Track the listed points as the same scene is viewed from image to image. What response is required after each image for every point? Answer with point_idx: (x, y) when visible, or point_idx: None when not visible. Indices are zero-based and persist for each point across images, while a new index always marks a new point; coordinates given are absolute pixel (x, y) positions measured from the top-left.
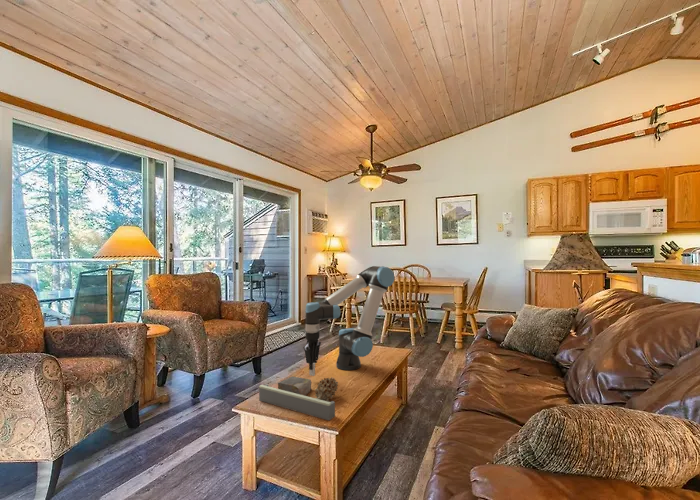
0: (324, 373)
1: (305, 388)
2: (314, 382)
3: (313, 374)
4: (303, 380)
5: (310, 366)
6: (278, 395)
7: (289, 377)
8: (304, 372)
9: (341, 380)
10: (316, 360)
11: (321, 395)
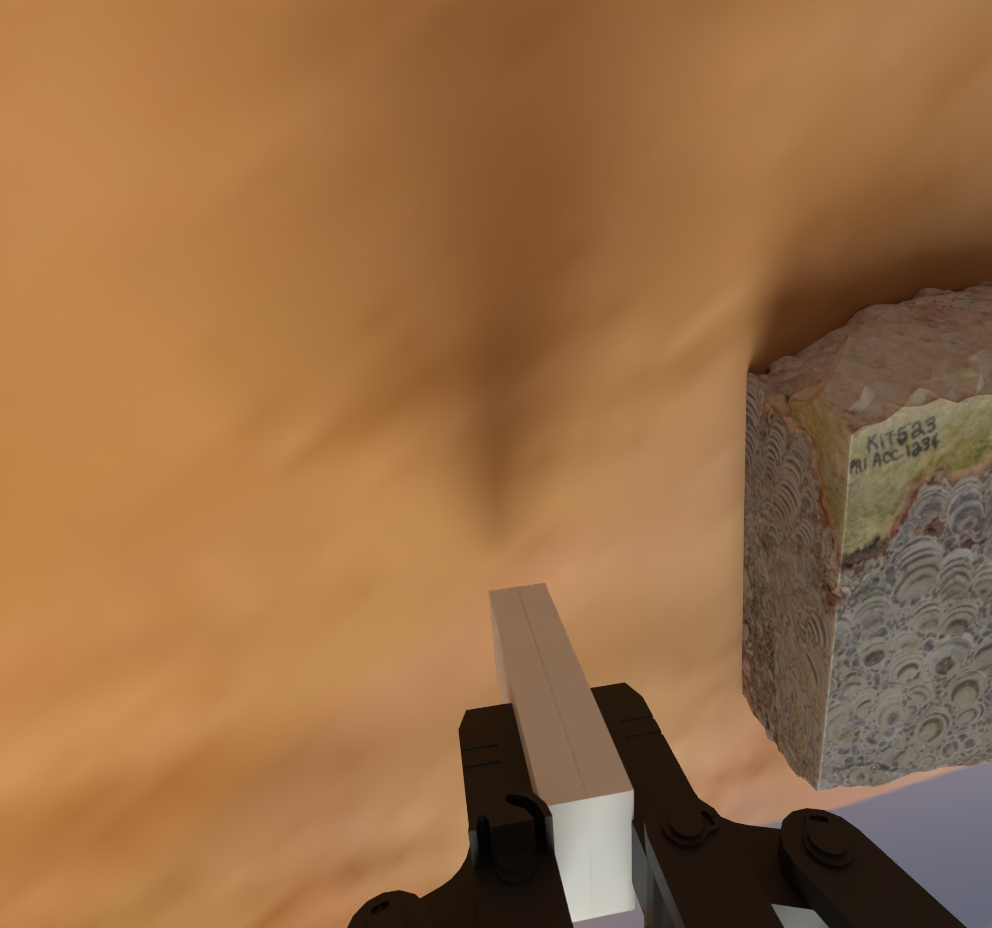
0: (56, 671)
1: None
2: (495, 522)
3: (548, 599)
4: (943, 504)
5: (669, 768)
6: None
7: (878, 781)
8: (276, 897)
9: (56, 142)
10: (405, 911)
11: None
